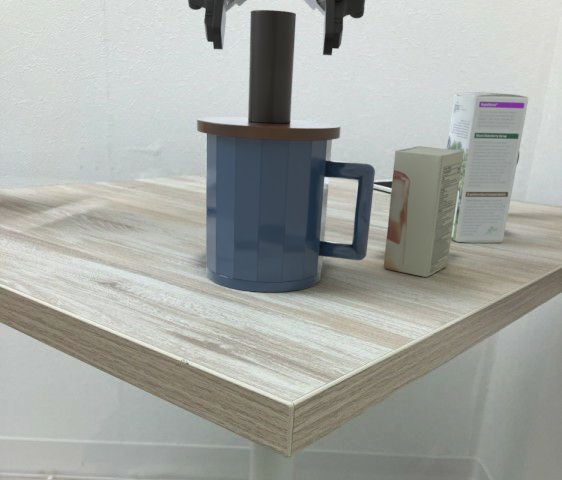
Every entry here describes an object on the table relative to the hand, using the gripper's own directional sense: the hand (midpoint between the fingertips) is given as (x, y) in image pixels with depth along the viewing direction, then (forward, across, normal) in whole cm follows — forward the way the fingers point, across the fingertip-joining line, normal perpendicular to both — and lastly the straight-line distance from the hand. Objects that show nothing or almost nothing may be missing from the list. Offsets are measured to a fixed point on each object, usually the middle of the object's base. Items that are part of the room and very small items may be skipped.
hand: (273, 43), depth 49 cm
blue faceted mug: (+15, +2, +9) cm, 18 cm away
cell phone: (-20, +20, +44) cm, 52 cm away
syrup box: (+1, +22, +23) cm, 32 cm away
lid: (+7, 0, +2) cm, 7 cm away
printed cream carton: (+12, +13, +13) cm, 22 cm away
